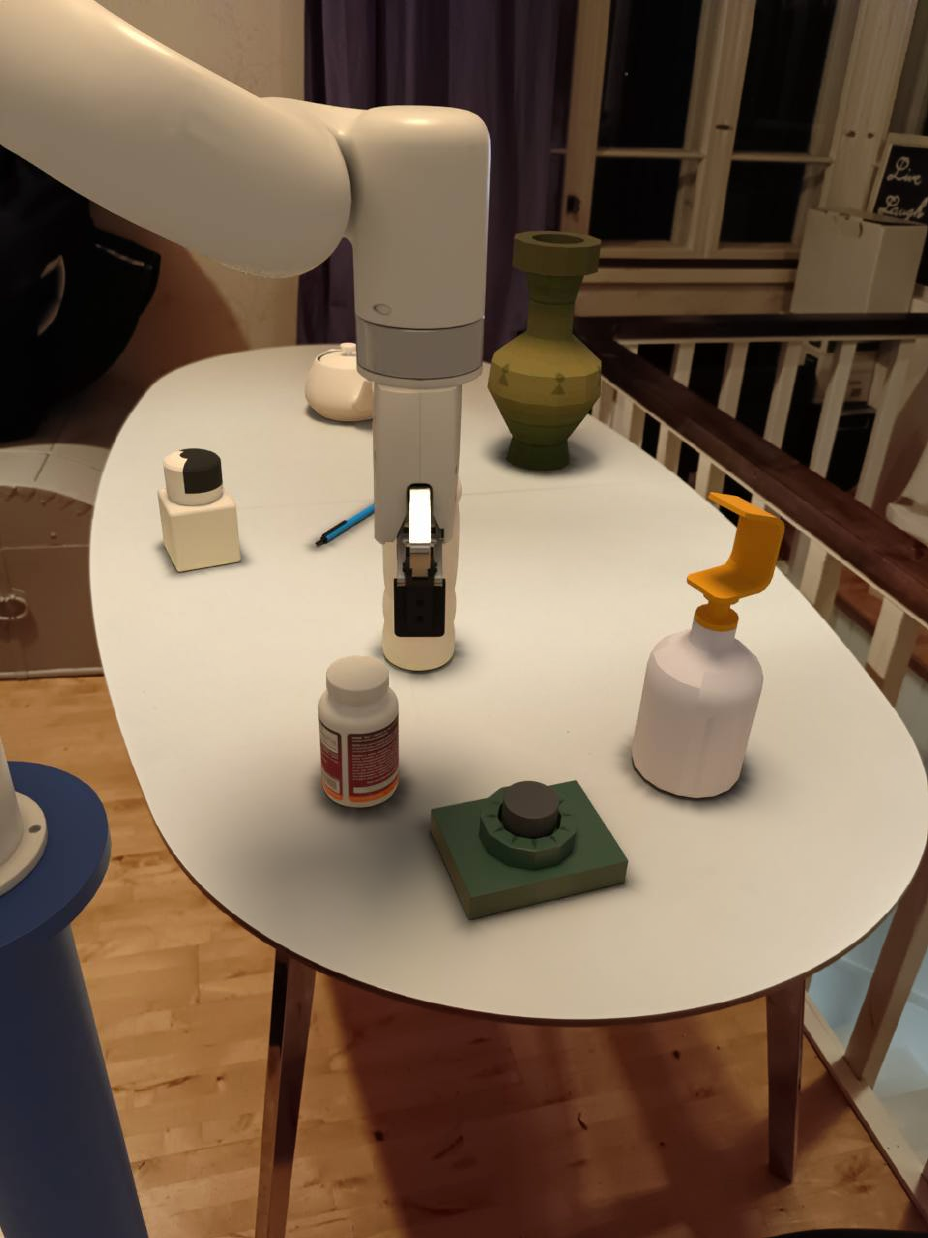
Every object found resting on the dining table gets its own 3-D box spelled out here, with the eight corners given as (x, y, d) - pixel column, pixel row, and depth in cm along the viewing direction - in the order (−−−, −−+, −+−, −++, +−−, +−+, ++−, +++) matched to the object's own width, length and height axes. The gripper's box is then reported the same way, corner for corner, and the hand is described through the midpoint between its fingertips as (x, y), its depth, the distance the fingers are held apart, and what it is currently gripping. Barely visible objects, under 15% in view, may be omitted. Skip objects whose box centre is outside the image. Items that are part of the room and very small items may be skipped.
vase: (575, 490, 129) (602, 256, 113) (465, 468, 134) (476, 241, 118) (606, 450, 142) (634, 235, 126) (504, 431, 147) (519, 222, 131)
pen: (313, 546, 112) (313, 537, 111) (400, 491, 126) (400, 483, 126) (319, 548, 111) (319, 539, 111) (406, 492, 126) (406, 484, 125)
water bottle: (436, 628, 97) (444, 389, 84) (466, 664, 92) (480, 415, 79) (371, 642, 95) (369, 397, 82) (398, 680, 89) (400, 424, 76)
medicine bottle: (225, 535, 113) (216, 439, 107) (241, 562, 108) (233, 462, 101) (163, 545, 110) (150, 447, 104) (177, 573, 105) (164, 471, 98)
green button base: (468, 919, 66) (471, 878, 64) (430, 830, 73) (431, 790, 71) (624, 882, 69) (632, 842, 67) (573, 800, 76) (579, 762, 74)
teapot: (290, 395, 156) (287, 328, 151) (370, 388, 161) (370, 323, 156) (328, 442, 139) (326, 369, 134) (415, 433, 144) (417, 362, 139)
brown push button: (513, 845, 67) (515, 823, 66) (493, 807, 70) (495, 786, 69) (565, 833, 68) (568, 812, 67) (543, 796, 71) (546, 776, 70)
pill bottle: (407, 766, 79) (409, 656, 73) (386, 817, 74) (387, 702, 68) (335, 754, 80) (332, 643, 74) (310, 803, 75) (304, 688, 69)
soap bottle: (609, 749, 82) (652, 485, 69) (689, 720, 86) (743, 465, 73) (679, 814, 76) (740, 536, 63) (761, 779, 80) (835, 511, 67)
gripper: (362, 307, 63) (369, 538, 72) (346, 391, 49) (357, 668, 58) (475, 308, 64) (468, 538, 73) (493, 393, 49) (481, 668, 58)
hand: (419, 596), depth 65 cm, fingers open, 9 cm apart
